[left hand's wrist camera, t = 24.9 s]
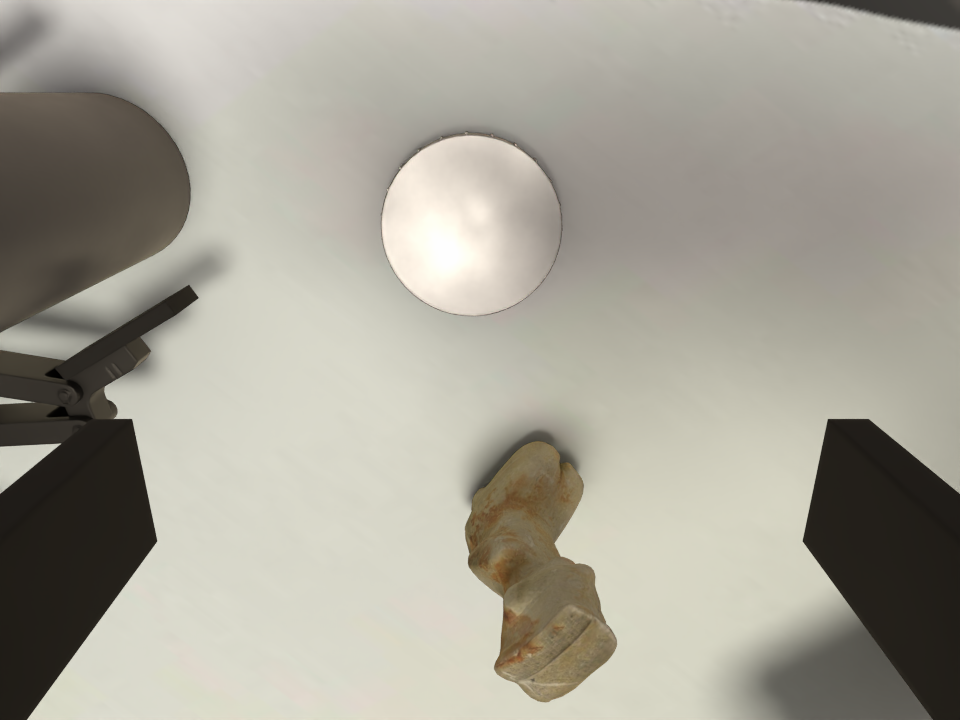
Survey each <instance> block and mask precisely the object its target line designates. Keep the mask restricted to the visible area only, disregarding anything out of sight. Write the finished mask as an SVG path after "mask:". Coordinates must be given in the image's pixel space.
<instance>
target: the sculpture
mask: <svg viewBox="0 0 960 720" xmlns="http://www.w3.org/2000/svg"><path fill="white" fill-rule="evenodd" d="M583 487H584V485H583V481H582V478H581V477H580V475H579V474H578V473H577V471H576V470H575V469H574V468H573V466H572V465H571V464H570V463H568V462H567V463H560V455H559V453H558V452H557V451H556V449H555V448H554V447H553V446H551V445H549V444H547V443H545V442H542V441H535V442H531V443H528V444H526V445H524V446H522V447H521V448H520V449H519V450H517V451H516V452H515V453H514V454H513V455H512V456H511V458H510V459H509V460H508V461H507V462H506V463H505V464H504V465H503V467H502V468H501V469H500V470H499V471H498V472H497V474H496V475H495V476H494V478H493V479H492V480H491V482H490V483H489V484H488V485H487V486H486V487H482V488H480V489H479V490H478V491H477V492H476V494H475V496H474V497H473V500H472V512H471V514H470V516H469V519H468V521H467V523H466V526H465V538H466V542H467V546H468V549H469V553H470V554H469V557H468V565H469V568H470V569H471V571H472V572H473V573H474V574H475V575H476V576H477V577H478V579H479V580H481V581H482V582H483V583H484V584H485V585H487V586H488V587H489V588H490V589H491V590H493V591H494V592H495V593H497V594H498V595H500V596H501V597H502V598H503V599H504V600H503V624H502V633H501V649H500V655H499V657H498V659H497V661H496V662H495V666H494V670H495V671H496V673H497V674H498V675H499V676H501V677H502V678H504V679H506V680H509V681H512V682H515V683H517V684H518V685H519V686H520V687H521V688H522V689H523V691H524V692H525V693H527V694H528V695H529V696H530V697H531V698H533V699H535V700H537V701H541V702H549V701H550V700H553V699H556V698H559V697H562V696H564V695H565V694H567V693H569V692H570V691H572V690H574V689H575V688H576V687H577V686H578V685H579V684H580V683H582V682H583V681H584V680H585V679H586V678H587V677H588V676H589V675H590V674H592V673H593V672H594V671H595V670H597V669H598V668H599V667H600V666H602V665H603V664H604V663H606V662H607V661H608V659H609V658H610V657H611V656H612V654H613V653H614V651H615V649H616V647H617V640H616V637H615V635H614V633H613V632H612V630H611V629H610V627H609V626H608V625H607V624H606V621H605V619H604V617H603V614H602V612H601V606H600V600H599V597H598V594H597V591H596V588H595V573H594V570H593V569H592V568H591V567H589V566H588V565H585V564H575V563H574V562H573V561H571V560H570V559H567V558H564V557H560V554H559V552H558V550H557V548H556V546H555V544H554V543H555V541H556V540H557V538H558V537H559V535H560V534H561V533H562V531H563V530H564V528H565V527H566V525H567V523H568V522H569V520H570V518H571V517H572V515H573V513H574V511H575V510H576V508H577V506H578V504H579V502H580V500H581V497H582V494H583Z"/></svg>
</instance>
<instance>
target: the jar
mask: <svg viewBox="0 0 960 720" xmlns="http://www.w3.org/2000/svg"><path fill="white" fill-rule="evenodd" d="M189 202H190V186H189V178H188V174H187V170H186V166H185V164H184V161H183V158H182V156H181V154H180V152H179V150H178V148H177V146H176V145H175V143H174V142H173V140H172V139H171V137H170V136H169V134H168V133H167V132H166V131H165V130H164V128H163V127H162V126H161V125H160V124H159V123H158V122H157V121H156V120H155V119H154V118H152V117H151V116H150V115H149V114H147V113H146V112H145V111H143V110H142V109H140V108H139V107H137V106H135V105H133V104H132V103H130V102H127V101H125V100H123V99H121V98H117V97H114V96H111V95H106V94H100V93H0V332H2V331H4V330H6V329H8V328H10V327H12V326H14V325H16V324H18V323H20V322H22V321H24V320H26V319H28V318H30V317H32V316H34V315H36V314H38V313H40V312H42V311H44V310H45V309H47V308H49V307H51V306H53V305H55V304H57V303H59V302H61V301H63V300H65V299H67V298H69V297H71V296H73V295H75V294H77V293H79V292H81V291H83V290H85V289H87V288H89V287H91V286H93V285H95V284H97V283H99V282H101V281H103V280H105V279H107V278H109V277H111V276H113V275H115V274H117V273H119V272H121V271H123V270H125V269H127V268H129V267H131V266H133V265H135V264H137V263H139V262H141V261H143V260H145V259H147V258H149V257H151V256H153V255H155V254H156V253H158V252H160V251H161V250H163V249H164V248H165V247H167V246H168V245H169V244H170V243H171V242H172V241H173V240H174V239H175V238H176V236H177V235H178V233H179V232H180V230H181V229H182V227H183V224H184V222H185V220H186V217H187V213H188V209H189Z"/></svg>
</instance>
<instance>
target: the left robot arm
mask: <svg viewBox="0 0 960 720" xmlns="http://www.w3.org/2000/svg"><path fill="white" fill-rule="evenodd" d="M156 542H157V538H156V533H155V528H154V523H153V518H152V513H151V509H150V504H149V499H148V494H147V489H146V484H145V480H144V475H143V470H142V465H141V460H140V455H139V450H138V446H137V441H136V436H135V431H134V426H133V421H132V419H91V420H90V421H89V422H87V423H86V424H85V425H84V426H82V427H81V428H80V429H79V430H78V431H76V432H75V433H74V434H73V435H71V436H70V437H69V438H68V439H67V440H65V441H64V442H63V443H62V444H61V445H59V446H58V447H57V448H56V449H54V450H53V451H52V452H51V453H50V454H48V455H47V456H46V457H45V458H43V459H42V460H41V461H40V462H39V463H37V464H36V465H35V466H34V467H33V468H31V469H30V470H29V471H28V472H26V473H25V474H24V475H23V476H22V477H20V478H19V479H18V480H17V481H15V482H14V483H13V484H12V485H11V486H9V487H8V488H7V489H6V490H5V491H3V492H2V493H1V494H0V720H27V719H28V717H29V716H30V715H31V713H32V712H33V711H34V709H35V708H36V706H37V705H38V704H39V702H40V701H41V700H42V698H43V697H44V696H45V694H46V693H47V691H48V690H49V689H50V687H51V686H52V685H53V683H54V682H55V681H56V679H57V678H58V676H59V675H60V674H61V672H62V671H63V670H64V668H65V667H66V665H67V664H68V663H69V661H70V660H71V659H72V657H73V656H74V655H75V653H76V652H77V650H78V649H79V648H80V646H81V645H82V644H83V642H84V641H85V639H86V638H87V637H88V635H89V634H90V633H91V631H92V630H93V629H94V627H95V626H96V624H97V623H98V622H99V620H100V619H101V618H102V616H103V615H104V613H105V612H106V611H107V609H108V608H109V607H110V605H111V604H112V603H113V601H114V600H115V598H116V597H117V596H118V594H119V593H120V592H121V590H122V589H123V587H124V586H125V585H126V583H127V582H128V581H129V579H130V578H131V577H132V575H133V574H134V572H135V571H136V570H137V568H138V567H139V566H140V564H141V563H142V562H143V560H144V559H145V557H146V556H147V555H148V553H149V552H150V551H151V549H152V548H153V546H154V545H155V544H156ZM803 542H804V544H805V545H806V546H807V548H808V549H809V551H810V552H811V553H812V555H813V556H814V557H815V559H816V560H817V562H818V563H819V564H820V566H821V567H822V568H823V570H824V571H825V572H826V574H827V575H828V577H829V578H830V579H831V581H832V582H833V583H834V585H835V586H836V587H837V589H838V590H839V592H840V593H841V594H842V596H843V597H844V598H845V600H846V601H847V603H848V604H849V605H850V607H851V608H852V609H853V611H854V612H855V613H856V615H857V616H858V618H859V619H860V620H861V622H862V623H863V624H864V626H865V627H866V629H867V630H868V631H869V633H870V634H871V635H872V637H873V638H874V639H875V641H876V642H877V644H878V645H879V646H880V648H881V649H882V650H883V652H884V653H885V655H886V656H887V657H888V659H889V660H890V661H891V663H892V664H893V665H894V667H895V668H896V670H897V671H898V672H899V674H900V675H901V676H902V678H903V679H904V681H905V682H906V683H907V685H908V686H909V687H910V689H911V690H912V691H913V693H914V694H915V696H916V697H917V698H918V700H919V701H920V702H921V704H922V705H923V706H924V708H925V709H926V711H927V712H928V713H929V715H930V716H931V717H932V719H933V720H960V494H959V493H958V492H957V491H955V490H954V489H953V488H952V487H951V486H949V485H948V484H947V483H946V482H945V481H943V480H942V479H941V478H940V477H938V476H937V475H936V474H935V473H934V472H932V471H931V470H930V469H929V468H927V467H926V466H925V465H924V464H923V463H921V462H920V461H919V460H918V459H917V458H915V457H914V456H913V455H912V454H910V453H909V452H908V451H907V450H906V449H904V448H903V447H902V446H901V445H899V444H898V443H897V442H896V441H895V440H893V439H892V438H891V437H890V436H889V435H887V434H886V433H885V432H884V431H882V430H881V429H880V428H879V427H878V426H876V425H875V424H874V423H873V422H871V421H870V420H869V419H828V421H827V426H826V431H825V436H824V441H823V446H822V450H821V455H820V460H819V465H818V470H817V475H816V480H815V484H814V489H813V494H812V499H811V504H810V509H809V513H808V518H807V523H806V528H805V533H804V538H803Z"/></svg>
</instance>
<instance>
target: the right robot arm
mask: <svg viewBox="0 0 960 720" xmlns="http://www.w3.org/2000/svg"><path fill="white" fill-rule="evenodd" d="M197 299H198V296H197V295H196V294H195V292H194V291H193V290H192V288H191V287H190V286H189V285H188V286H186V287H185V288H183V289H181V290H180V291H178V292H177V293H175V294H173V295H172V296H170V297H168V298H167V299H165V300H163V301H162V302H160V303H158V304H157V305H155V306H154V307H152V308H150V309H149V310H147V311H145V312H144V313H142V314H140V315H139V316H137V317H135V318H134V319H132V320H131V321H129V322H127V323H126V324H124V325H122V326H121V327H119V328H117V329H116V330H114V331H112V332H111V333H109V334H108V335H106V336H104V337H103V338H101V339H99V340H98V341H96V342H94V343H93V344H91V345H89V346H88V347H86V348H85V349H83V350H82V351H80V352H79V353H77V354H76V355H74V356H72V357H71V358H69V359H68V360H66V361H64V360H58V359H52V358H45V357H39V356H33V355H27V354H21V353H15V352H9V351H3V350H0V397H6V398H12V399H18V400H25V401H31V402H36V403H17V404H0V447H1V446H20V445H39V444H58V443H63V442H64V441H65V440H67V439H68V438H69V437H70V436H71V435H73V434H74V433H75V432H76V431H78V430H79V429H80V428H81V427H82V426H84V425H85V424H86V423H87V422H89V421H90V420H91V419H114V418H115V417H116V415H117V407H116V405H115V404H114V403H113V402H112V401H109V400H107V399H106V396H105V393H104V388H105V386H106V385H108V384H109V383H111V382H113V381H115V380H116V379H118V378H120V377H121V376H123V375H125V374H126V373H128V372H130V371H131V370H133V369H134V368H135V367H137V366H138V365H139V364H140V363H142V362H143V361H144V360H145V359H146V358H147V357H148V355H149V354H150V352H151V350H150V349H149V348H148V346H147V345H146V344H145V343H144V341H143V340H142V339H141V338H140V336H142V335H143V334H145V333H147V332H148V331H150V330H152V329H153V328H155V327H157V326H158V325H160V324H162V323H163V322H165V321H167V320H168V319H170V318H172V317H173V316H175V315H176V314H178V313H179V312H180V311H182V310H183V309H184V308H186V307H187V306H189V305H190V304H191V303H193V302H194V301H195V300H197Z"/></svg>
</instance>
